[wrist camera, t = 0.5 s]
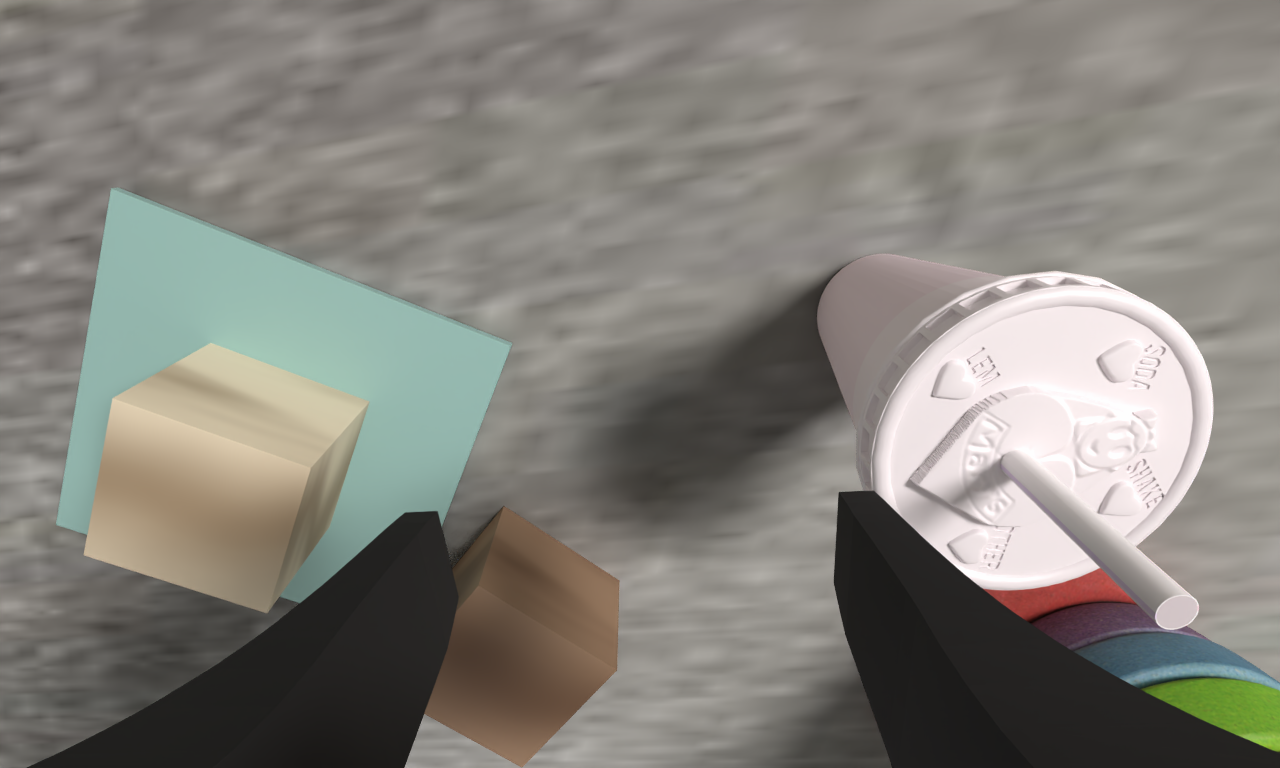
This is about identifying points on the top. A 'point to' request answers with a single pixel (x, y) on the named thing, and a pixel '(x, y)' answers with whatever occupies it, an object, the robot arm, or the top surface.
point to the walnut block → (524, 639)
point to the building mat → (283, 363)
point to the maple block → (222, 475)
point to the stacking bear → (1153, 654)
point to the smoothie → (1021, 418)
